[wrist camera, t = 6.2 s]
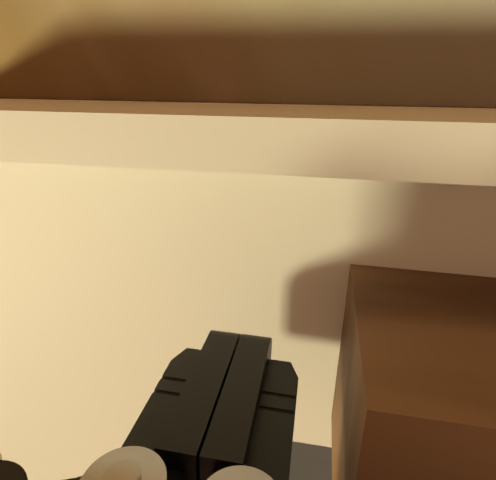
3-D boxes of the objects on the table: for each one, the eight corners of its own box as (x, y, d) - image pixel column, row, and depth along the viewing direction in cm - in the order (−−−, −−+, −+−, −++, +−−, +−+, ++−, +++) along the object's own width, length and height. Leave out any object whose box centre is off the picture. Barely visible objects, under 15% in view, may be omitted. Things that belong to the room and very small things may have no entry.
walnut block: (350, 263, 10) (367, 409, 6) (569, 284, 9) (795, 474, 5) (331, 415, 12) (332, 617, 8) (513, 444, 11) (638, 690, 7)
